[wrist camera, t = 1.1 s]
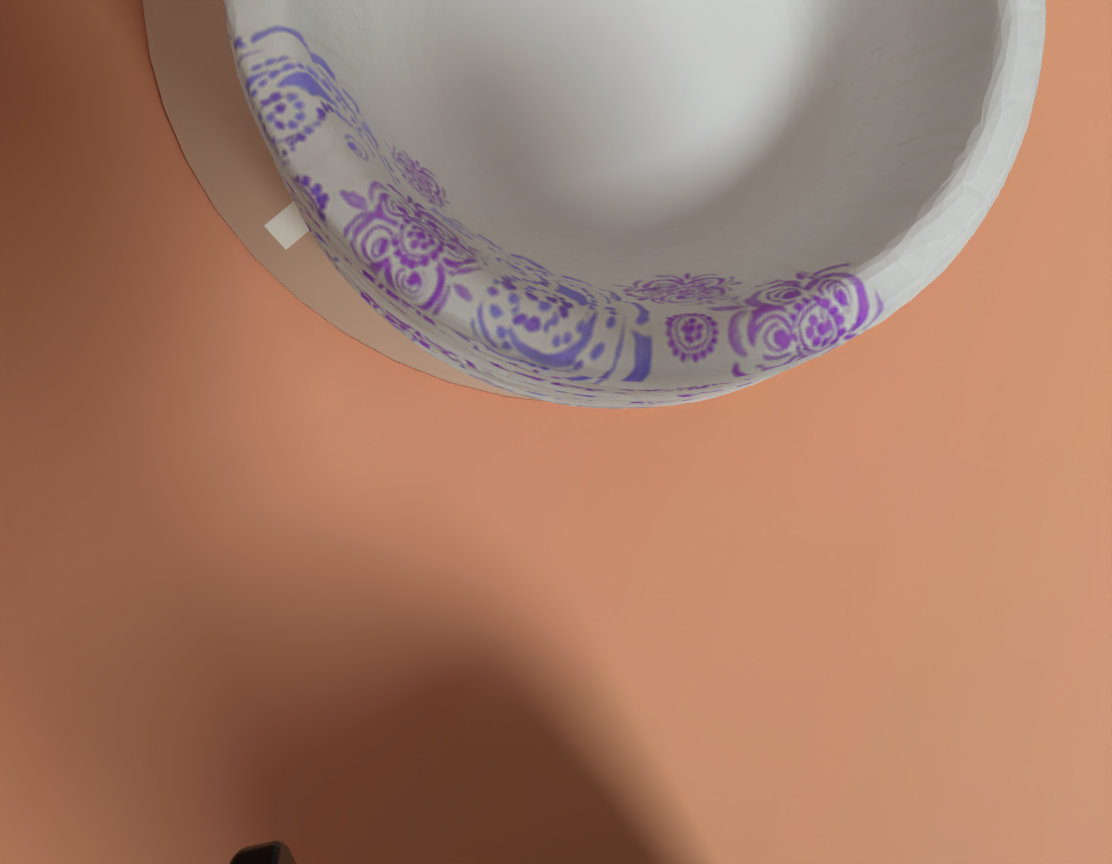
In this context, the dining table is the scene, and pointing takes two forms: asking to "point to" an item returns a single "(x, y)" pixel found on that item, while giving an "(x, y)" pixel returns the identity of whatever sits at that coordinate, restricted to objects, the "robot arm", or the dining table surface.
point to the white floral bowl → (638, 172)
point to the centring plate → (258, 177)
